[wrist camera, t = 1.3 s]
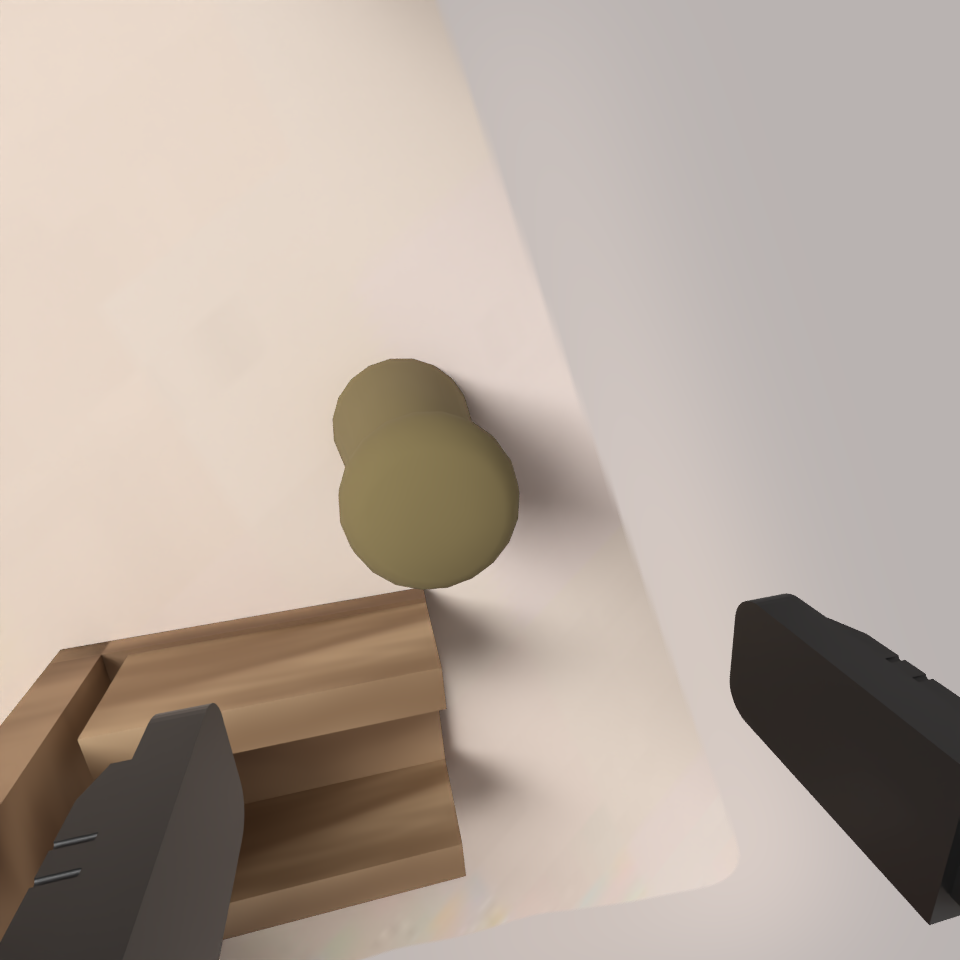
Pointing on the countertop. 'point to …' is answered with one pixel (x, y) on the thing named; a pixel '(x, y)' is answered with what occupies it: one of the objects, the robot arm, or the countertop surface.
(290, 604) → the countertop surface
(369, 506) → the olive rounded bulb piece
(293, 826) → the wooden stand
